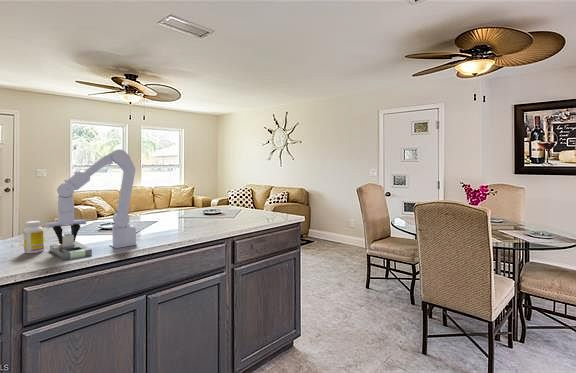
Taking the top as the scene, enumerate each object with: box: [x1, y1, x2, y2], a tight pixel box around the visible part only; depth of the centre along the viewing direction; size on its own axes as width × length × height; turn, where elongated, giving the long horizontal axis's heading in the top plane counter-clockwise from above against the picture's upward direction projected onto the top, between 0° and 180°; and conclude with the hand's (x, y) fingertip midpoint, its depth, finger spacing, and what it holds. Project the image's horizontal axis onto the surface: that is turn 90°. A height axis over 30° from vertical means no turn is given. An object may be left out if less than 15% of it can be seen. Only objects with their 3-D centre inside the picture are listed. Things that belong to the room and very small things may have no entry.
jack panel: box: [49, 240, 93, 261], centre depth 139 cm, size 10×20×2 cm, turn 48°
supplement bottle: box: [22, 220, 45, 254], centre depth 140 cm, size 7×7×13 cm
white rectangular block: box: [60, 232, 74, 247], centre depth 142 cm, size 4×4×8 cm
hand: (67, 242), depth 142 cm, fingers closed on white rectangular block, 4 cm apart
